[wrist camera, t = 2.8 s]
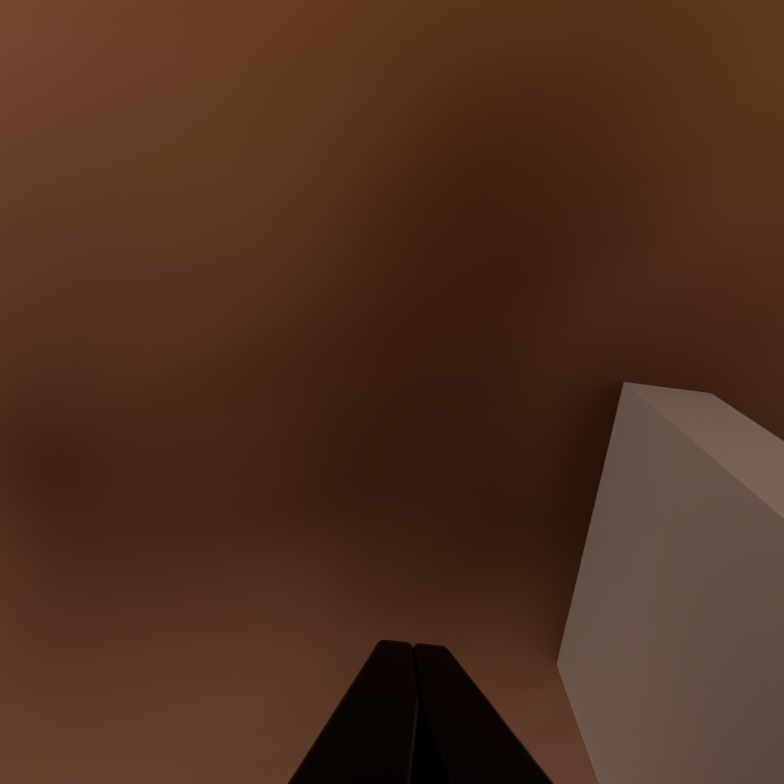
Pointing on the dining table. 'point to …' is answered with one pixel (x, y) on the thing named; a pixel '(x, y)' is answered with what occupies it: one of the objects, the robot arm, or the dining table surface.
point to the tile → (681, 598)
